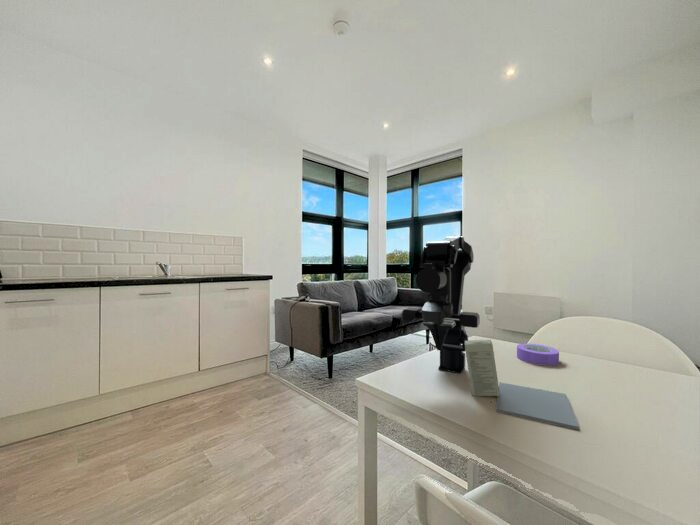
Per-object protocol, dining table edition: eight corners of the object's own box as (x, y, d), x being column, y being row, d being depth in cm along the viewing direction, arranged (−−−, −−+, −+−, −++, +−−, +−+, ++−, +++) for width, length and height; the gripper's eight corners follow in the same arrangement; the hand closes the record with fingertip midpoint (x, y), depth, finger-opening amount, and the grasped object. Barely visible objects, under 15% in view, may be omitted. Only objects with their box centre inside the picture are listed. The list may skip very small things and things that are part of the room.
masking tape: (568, 364, 92) (568, 352, 92) (538, 367, 89) (538, 354, 89) (535, 353, 104) (535, 342, 104) (508, 355, 101) (508, 344, 101)
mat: (496, 411, 62) (496, 408, 62) (499, 384, 76) (499, 382, 76) (579, 430, 55) (578, 426, 55) (565, 396, 69) (565, 394, 69)
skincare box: (497, 389, 71) (491, 339, 72) (500, 397, 67) (494, 343, 68) (469, 388, 74) (464, 339, 74) (470, 395, 70) (464, 344, 70)
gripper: (394, 290, 73) (393, 352, 73) (474, 294, 64) (474, 365, 64) (408, 287, 83) (408, 342, 83) (479, 290, 74) (479, 352, 74)
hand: (439, 350), depth 76 cm, fingers closed
